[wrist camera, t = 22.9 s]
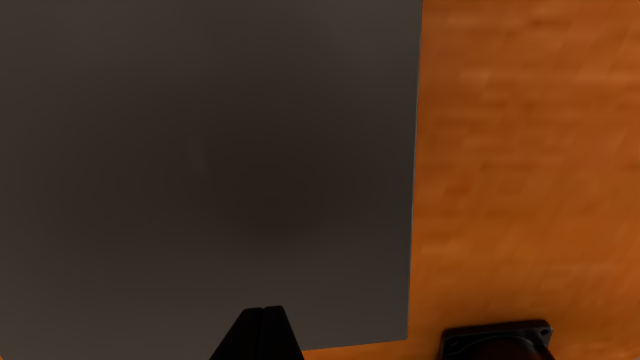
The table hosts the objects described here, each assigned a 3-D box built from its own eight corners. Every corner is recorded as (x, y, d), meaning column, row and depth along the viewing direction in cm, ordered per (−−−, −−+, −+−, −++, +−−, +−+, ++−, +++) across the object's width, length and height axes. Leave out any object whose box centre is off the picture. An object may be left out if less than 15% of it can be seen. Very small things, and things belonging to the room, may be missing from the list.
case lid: (-421, -276, 5) (-497, -303, 5) (427, -346, 6) (441, -378, 5) (29, 364, 12) (17, 382, 12) (403, 324, 12) (408, 340, 12)
